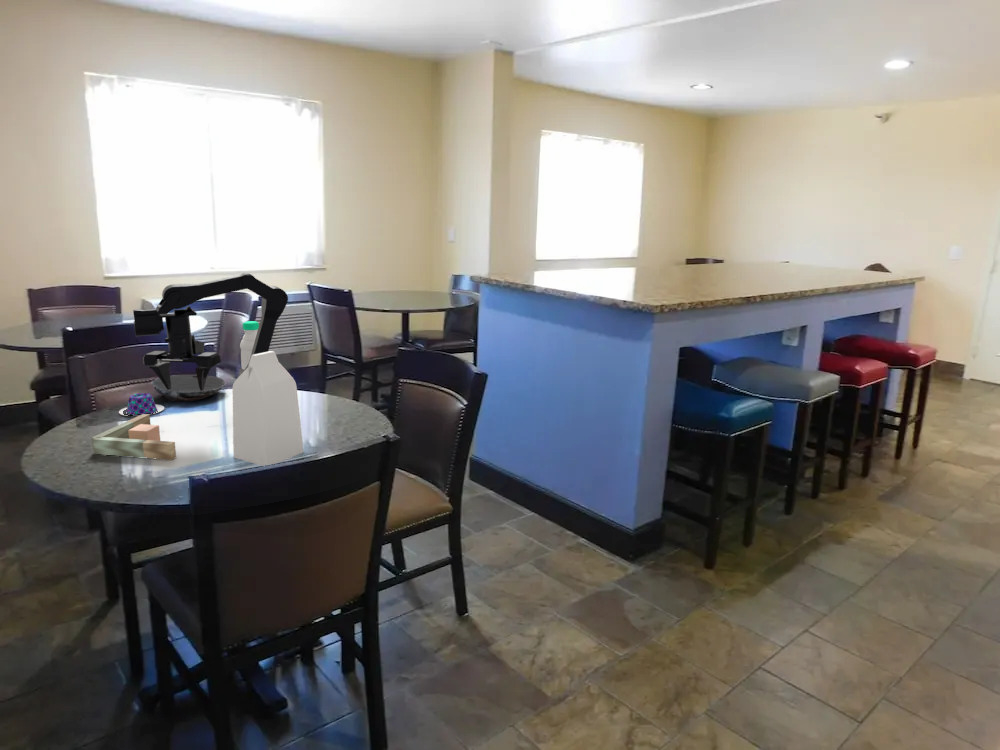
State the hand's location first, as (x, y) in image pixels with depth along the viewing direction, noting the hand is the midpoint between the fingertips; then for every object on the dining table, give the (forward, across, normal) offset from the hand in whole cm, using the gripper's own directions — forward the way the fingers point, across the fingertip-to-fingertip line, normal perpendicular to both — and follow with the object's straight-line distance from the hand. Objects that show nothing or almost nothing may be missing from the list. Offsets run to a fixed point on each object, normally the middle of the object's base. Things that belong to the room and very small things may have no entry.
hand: (185, 389), depth 182 cm
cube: (+11, +5, +13) cm, 18 cm away
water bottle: (+12, -4, -32) cm, 35 cm away
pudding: (+12, +23, -14) cm, 29 cm away
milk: (+12, -28, +14) cm, 34 cm away
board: (+12, +18, -33) cm, 40 cm away
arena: (+11, +3, +11) cm, 16 cm away
